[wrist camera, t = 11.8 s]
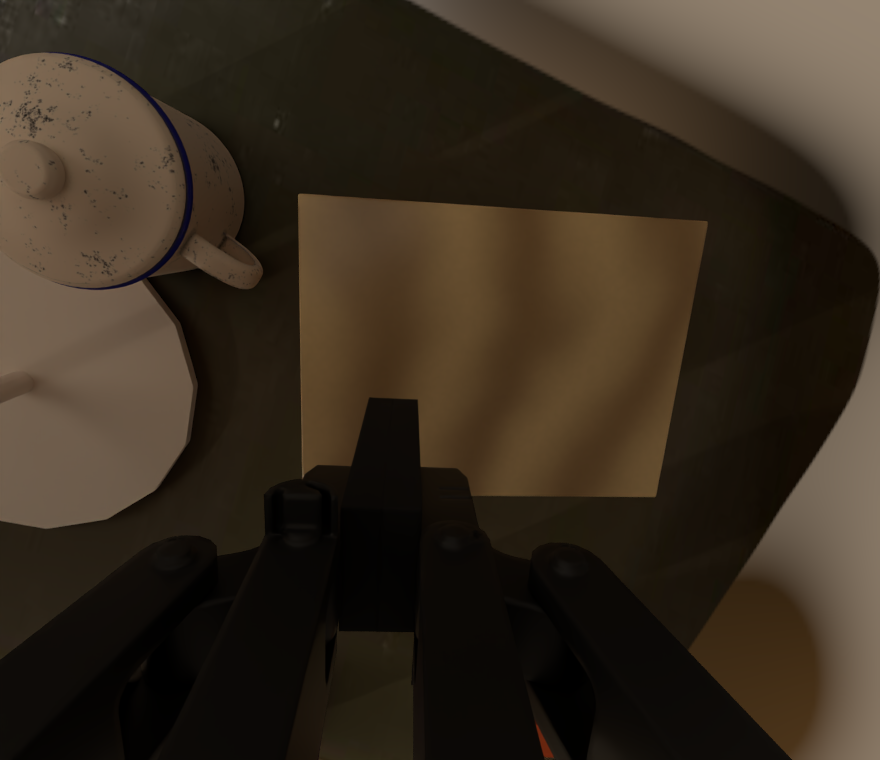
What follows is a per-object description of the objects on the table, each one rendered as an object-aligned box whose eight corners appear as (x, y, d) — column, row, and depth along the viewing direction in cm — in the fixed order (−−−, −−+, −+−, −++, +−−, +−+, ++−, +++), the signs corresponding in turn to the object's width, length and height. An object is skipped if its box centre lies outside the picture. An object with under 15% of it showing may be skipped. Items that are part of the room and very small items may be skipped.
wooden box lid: (304, 486, 23) (302, 495, 23) (300, 194, 20) (297, 193, 19) (648, 489, 25) (656, 497, 24) (698, 221, 22) (709, 221, 21)
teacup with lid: (54, 209, 29) (-166, 193, 18) (135, 67, 27) (-52, -49, 16) (240, 334, 32) (150, 389, 20) (324, 211, 30) (276, 197, 19)
